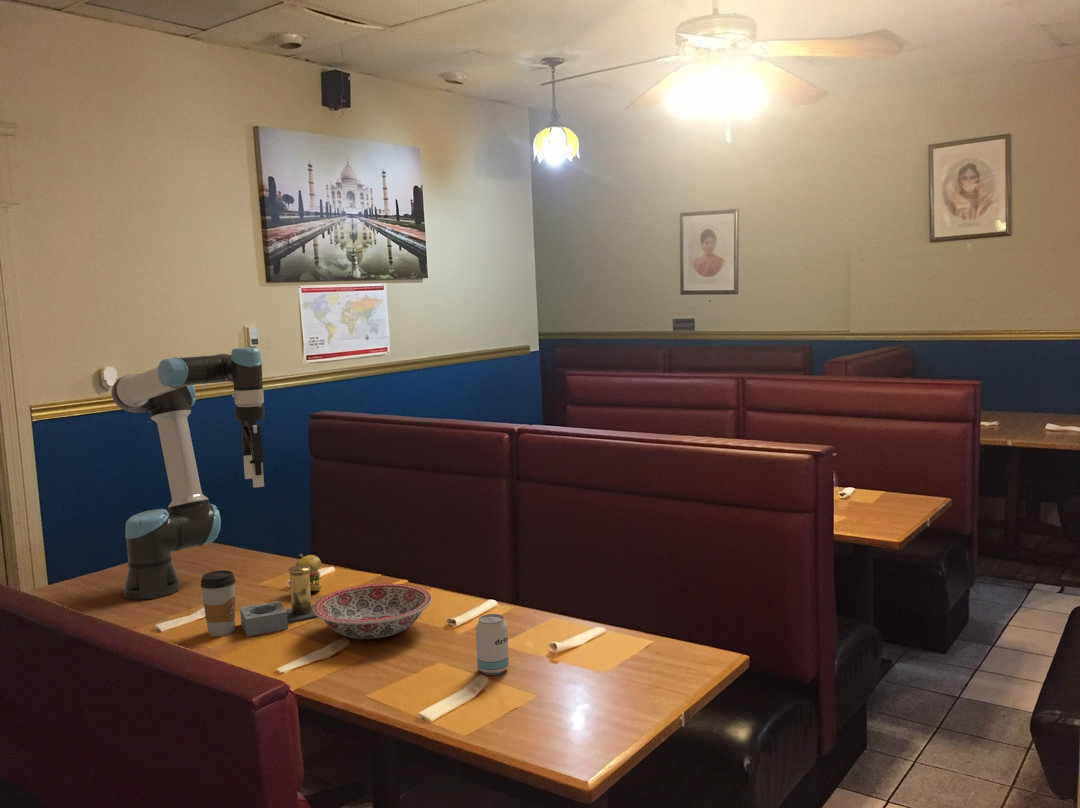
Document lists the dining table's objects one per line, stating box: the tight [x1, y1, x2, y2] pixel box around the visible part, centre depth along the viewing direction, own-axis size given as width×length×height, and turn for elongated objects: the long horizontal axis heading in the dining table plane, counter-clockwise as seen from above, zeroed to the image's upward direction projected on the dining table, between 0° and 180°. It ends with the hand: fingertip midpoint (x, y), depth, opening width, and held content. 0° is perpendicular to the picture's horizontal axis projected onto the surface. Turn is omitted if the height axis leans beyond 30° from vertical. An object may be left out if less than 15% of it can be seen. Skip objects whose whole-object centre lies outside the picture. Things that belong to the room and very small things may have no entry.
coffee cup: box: [200, 569, 237, 637], centre depth 225 cm, size 8×8×15 cm
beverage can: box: [475, 613, 510, 676], centre depth 196 cm, size 7×7×12 cm
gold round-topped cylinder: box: [288, 565, 312, 615], centre depth 236 cm, size 6×6×12 cm
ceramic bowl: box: [313, 583, 433, 640], centre depth 222 cm, size 29×29×8 cm
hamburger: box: [295, 553, 322, 592], centre depth 255 cm, size 8×7×12 cm
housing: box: [239, 600, 289, 637], centre depth 228 cm, size 10×10×4 cm
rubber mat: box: [285, 604, 319, 624], centre depth 236 cm, size 9×9×1 cm
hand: (254, 482), depth 241 cm, fingers open, 13 cm apart
